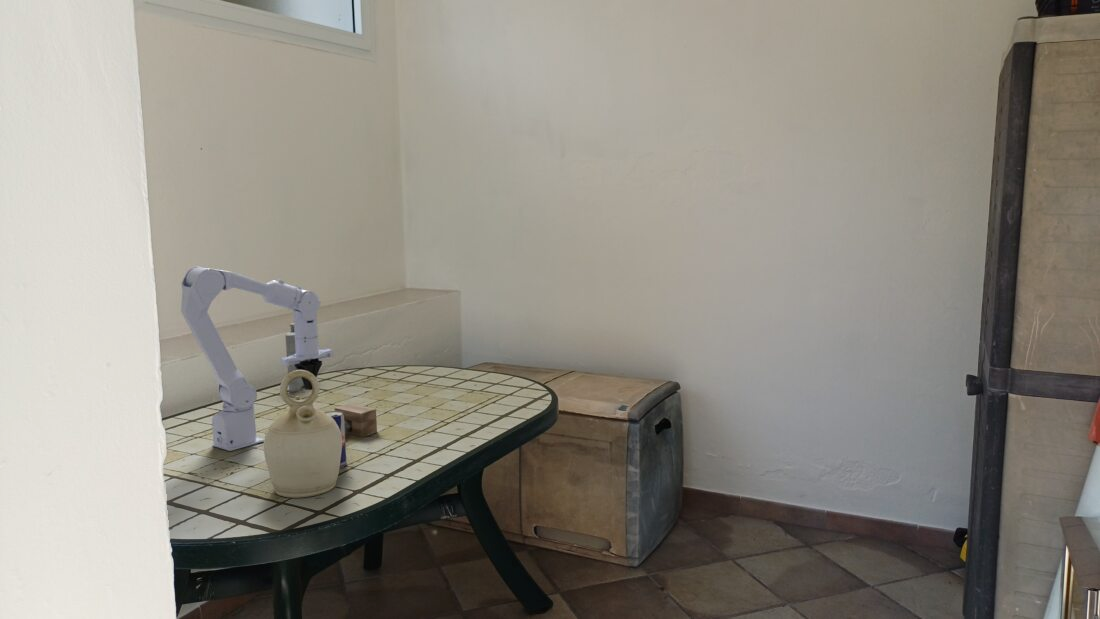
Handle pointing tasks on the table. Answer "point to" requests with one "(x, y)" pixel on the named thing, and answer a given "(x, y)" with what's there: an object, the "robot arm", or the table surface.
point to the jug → (302, 445)
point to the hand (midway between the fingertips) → (309, 388)
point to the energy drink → (340, 422)
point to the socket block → (359, 419)
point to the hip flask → (291, 350)
